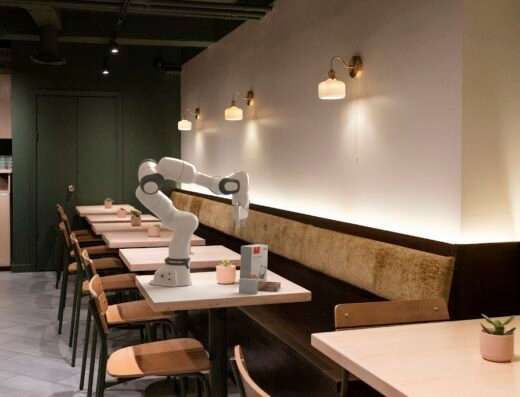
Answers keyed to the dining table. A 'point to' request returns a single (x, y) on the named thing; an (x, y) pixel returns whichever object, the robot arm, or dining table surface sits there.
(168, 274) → the robot arm
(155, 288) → the dining table surface
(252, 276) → the hard drive box
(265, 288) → the walnut box
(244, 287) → the gray rectangular block
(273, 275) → the dining table surface
